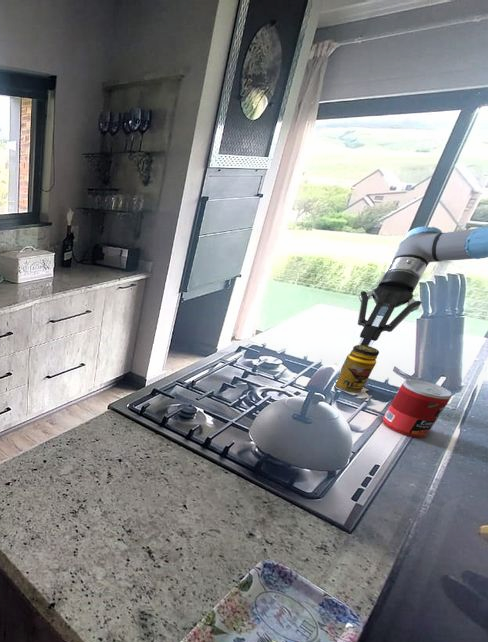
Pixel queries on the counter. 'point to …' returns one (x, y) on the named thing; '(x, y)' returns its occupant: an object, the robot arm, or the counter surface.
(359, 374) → the condiment
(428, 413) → the canned food
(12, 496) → the counter surface
